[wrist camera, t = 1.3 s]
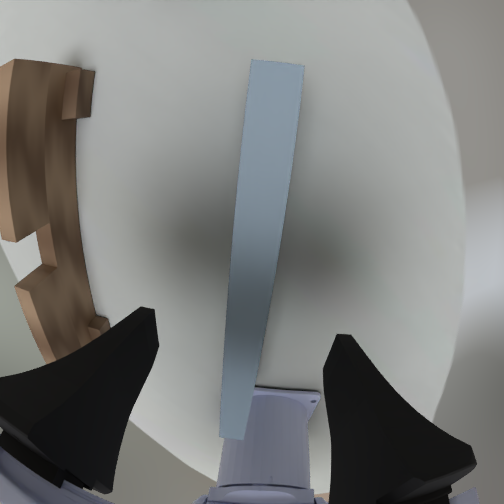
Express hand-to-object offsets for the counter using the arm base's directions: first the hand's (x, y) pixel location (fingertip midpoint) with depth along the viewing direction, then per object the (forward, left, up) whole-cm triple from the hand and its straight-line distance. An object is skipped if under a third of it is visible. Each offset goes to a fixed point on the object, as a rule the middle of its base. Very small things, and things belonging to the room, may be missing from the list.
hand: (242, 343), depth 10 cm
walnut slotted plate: (+1, +13, -7) cm, 15 cm away
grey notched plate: (0, 0, -7) cm, 7 cm away
